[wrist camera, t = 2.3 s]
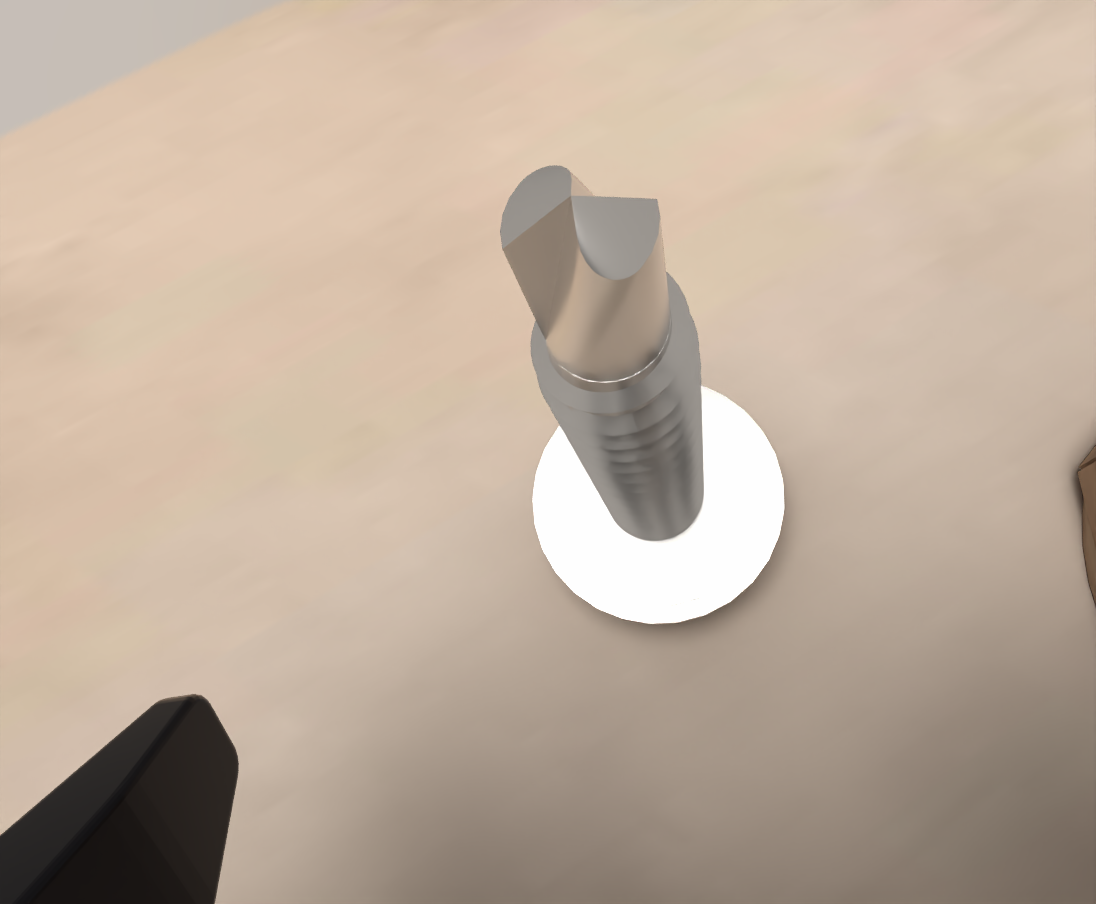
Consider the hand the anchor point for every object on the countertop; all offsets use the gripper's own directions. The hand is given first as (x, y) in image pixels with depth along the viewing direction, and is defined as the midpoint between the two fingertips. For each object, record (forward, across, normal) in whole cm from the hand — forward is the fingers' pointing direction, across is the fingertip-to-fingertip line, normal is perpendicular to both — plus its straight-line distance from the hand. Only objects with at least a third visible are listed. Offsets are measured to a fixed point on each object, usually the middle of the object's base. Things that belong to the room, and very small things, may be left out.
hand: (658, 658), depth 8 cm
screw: (+10, 0, +5) cm, 11 cm away
